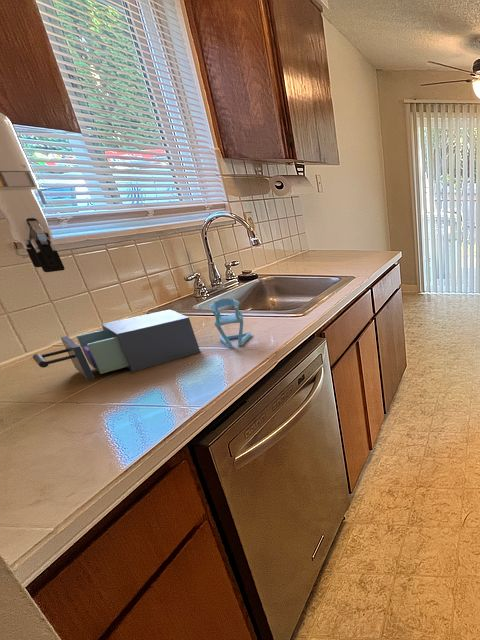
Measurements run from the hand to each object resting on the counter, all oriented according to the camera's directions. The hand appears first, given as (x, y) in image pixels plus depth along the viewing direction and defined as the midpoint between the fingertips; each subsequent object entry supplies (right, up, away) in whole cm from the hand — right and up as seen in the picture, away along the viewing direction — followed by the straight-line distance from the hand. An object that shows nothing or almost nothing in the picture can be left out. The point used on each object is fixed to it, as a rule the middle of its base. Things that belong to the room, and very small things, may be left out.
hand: (49, 268), depth 86 cm
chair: (+25, -15, +25) cm, 39 cm away
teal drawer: (+3, -22, +9) cm, 24 cm away
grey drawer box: (+10, -19, +17) cm, 27 cm away
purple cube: (+4, -20, +9) cm, 23 cm away
